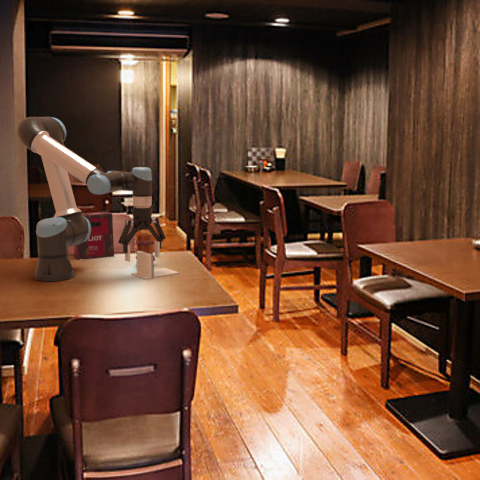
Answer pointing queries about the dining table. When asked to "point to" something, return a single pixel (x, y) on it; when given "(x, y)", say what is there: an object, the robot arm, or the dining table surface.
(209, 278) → the dining table surface
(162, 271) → the mat
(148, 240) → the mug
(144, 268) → the tile
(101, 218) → the box
